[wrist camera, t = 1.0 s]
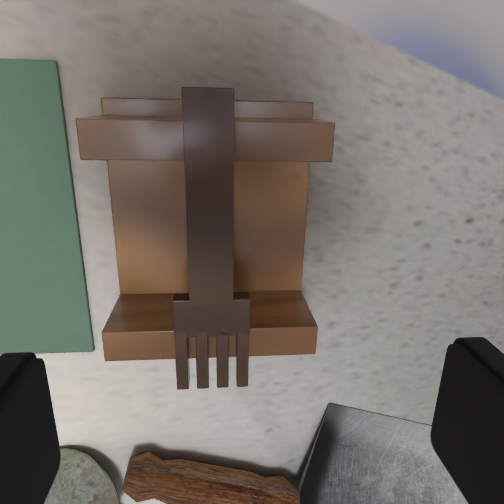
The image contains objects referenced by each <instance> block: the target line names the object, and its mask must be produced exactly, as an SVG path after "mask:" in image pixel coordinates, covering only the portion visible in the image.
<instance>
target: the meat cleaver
mask: <svg viewBox="0 0 504 504" xmlns="http://www.w3.org/2000/svg"><path fill="white" fill-rule="evenodd" d="M431 428H432V426H429V425H425V424H420V423H416V422H411V421H407V420H403V419H398V418H394V417H389V416H385V415H380V414H376V413H372V412H367V411H363V410H358V409H354V408H349V407H345V406H341V405H336V404H332V403H329V405H328V407H327V410H326V413H325V415H324V418H323V421H322V424H321V426H320V429H319V432H318V434H317V437H316V440H315V442H314V445H313V448H312V451H311V453H310V456H309V459H308V461H307V464H306V467H305V470H304V472H303V475H302V478H301V480H300V483H299V486H298V488H297V487H296V486H295V485H293V484H292V483H291V482H290V481H288V480H287V479H286V478H285V477H283V476H282V475H279V476H271V477H263V476H260V475H257V474H255V473H252V472H249V471H244V470H239V469H233V468H228V467H222V466H217V465H211V464H206V463H201V462H195V461H190V460H184V459H176V460H162V459H161V458H159V457H157V456H156V455H154V454H153V453H151V452H146V453H143V454H140V455H136V456H133V457H131V458H130V461H129V464H128V468H127V471H126V475H125V479H124V483H123V487H122V490H123V491H124V492H125V493H126V494H128V495H129V496H130V497H131V498H132V499H133V500H135V501H136V502H140V501H145V500H149V499H154V498H155V499H157V500H160V501H162V502H164V503H166V504H468V502H467V501H466V499H465V498H464V496H463V495H462V493H461V491H460V490H459V488H458V487H457V485H456V484H455V482H454V480H453V479H452V477H451V476H450V474H449V473H448V471H447V470H446V468H445V466H444V465H443V463H442V462H441V460H440V459H439V457H438V455H437V454H436V452H435V451H434V449H433V446H432V444H431V438H430V434H431Z"/></svg>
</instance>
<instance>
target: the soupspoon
mask: <svg viewBox="0 0 504 504" xmlns="http://www.w3.org/2000/svg"><path fill="white" fill-rule="evenodd" d="M60 453H61V460H60V466H59V470H58V473H57V475H56V477H55V480H54V482H53V484H52V487H51V489H50V491H49V493H48V496H47V498H46V500H45V503H44V504H119V499H118V495H117V492H116V489H115V486H114V484H113V482H112V481H111V479H110V477H109V476H108V474H107V473H106V472H105V471H104V470H103V469H102V468H101V467H100V466H99V465H98V464H97V462H96V461H94V459H93V458H92V457H91V456H89V455H87V454H85V453H83V452H80V451H77V450H75V449H69V448H64V449H63V448H62V449H60Z"/></svg>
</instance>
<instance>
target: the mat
mask: <svg viewBox="0 0 504 504" xmlns="http://www.w3.org/2000/svg"><path fill="white" fill-rule="evenodd" d="M93 351H94V342H93V335H92V327H91V319H90V312H89V304H88V296H87V288H86V281H85V273H84V265H83V258H82V250H81V242H80V234H79V227H78V219H77V211H76V204H75V196H74V188H73V181H72V173H71V165H70V157H69V150H68V142H67V134H66V127H65V119H64V111H63V104H62V96H61V88H60V80H59V73H58V65H57V61H52V60H17V59H0V355H2V354H3V353H17V352H32V353H65V352H93Z"/></svg>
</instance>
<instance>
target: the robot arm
mask: <svg viewBox="0 0 504 504" xmlns="http://www.w3.org/2000/svg"><path fill="white" fill-rule="evenodd" d="M430 438H431V444H432V446H433V449H434V451H435V452H436V454H437V455H438V457H439V459H440V460H441V462H442V463H443V465H444V466H445V468H446V470H447V471H448V473H449V474H450V476H451V477H452V479H453V480H454V482H455V484H456V485H457V487H458V488H459V490H460V491H461V493H462V495H463V496H464V498H465V499H466V501H467V502H468V504H504V354H503V353H502V352H501V351H500V350H498V349H497V348H496V347H495V346H494V345H493V344H491V343H490V342H489V341H488V340H487V339H485V338H483V337H470V338H457V339H456V340H455V341H454V343H453V344H451V345H449V346H448V348H447V352H446V357H445V362H444V367H443V372H442V377H441V382H440V387H439V392H438V397H437V403H436V408H435V413H434V418H433V423H432V428H431V434H430ZM60 460H61V453H60V447H59V441H58V436H57V430H56V424H55V419H54V413H53V408H52V402H51V396H50V391H49V385H48V380H47V374H46V368H45V364H44V361H43V359H41V358H36V356H35V354H34V353H32V352H17V353H3V354H2V355H1V356H0V504H44V503H45V500H46V498H47V496H48V493H49V491H50V489H51V487H52V484H53V482H54V480H55V477H56V475H57V473H58V470H59V466H60Z"/></svg>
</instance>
